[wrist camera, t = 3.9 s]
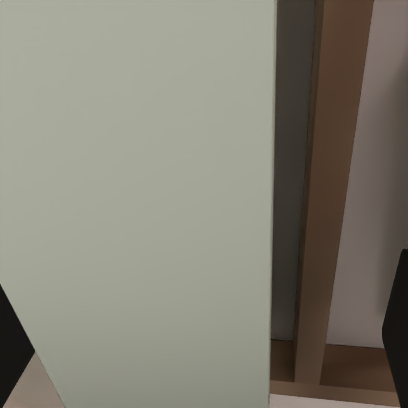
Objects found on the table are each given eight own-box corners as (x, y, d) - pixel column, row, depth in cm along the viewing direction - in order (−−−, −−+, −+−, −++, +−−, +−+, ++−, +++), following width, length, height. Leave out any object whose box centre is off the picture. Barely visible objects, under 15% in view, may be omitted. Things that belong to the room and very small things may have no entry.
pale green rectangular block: (278, -69, 9) (274, -89, 2) (271, 315, 17) (264, 596, 10) (160, -57, 10) (-169, -39, 3) (204, 311, 18) (152, 574, 10)
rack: (961, -332, 6) (1209, -430, 4) (519, 375, 17) (545, 422, 15) (58, -180, 9) (8, -205, 7) (168, 344, 19) (158, 381, 18)
